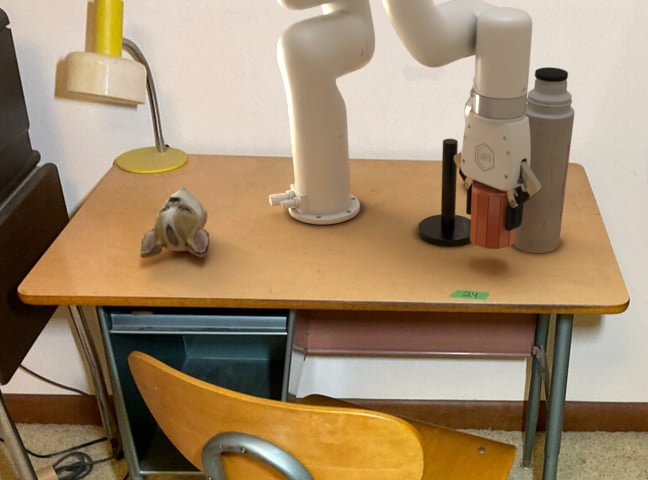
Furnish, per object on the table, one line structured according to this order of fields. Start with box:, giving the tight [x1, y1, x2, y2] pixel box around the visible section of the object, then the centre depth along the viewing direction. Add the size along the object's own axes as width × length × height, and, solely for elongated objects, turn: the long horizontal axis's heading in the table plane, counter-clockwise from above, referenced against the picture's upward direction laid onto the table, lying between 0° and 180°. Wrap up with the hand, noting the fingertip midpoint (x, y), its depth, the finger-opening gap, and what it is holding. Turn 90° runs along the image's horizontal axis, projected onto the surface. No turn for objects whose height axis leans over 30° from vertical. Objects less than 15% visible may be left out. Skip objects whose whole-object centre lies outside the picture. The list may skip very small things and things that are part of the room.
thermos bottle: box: [512, 66, 575, 254], centre depth 134 cm, size 8×8×28 cm
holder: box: [418, 138, 472, 248], centre depth 139 cm, size 10×10×16 cm
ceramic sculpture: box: [139, 186, 211, 259], centre depth 136 cm, size 11×9×15 cm
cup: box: [470, 180, 518, 250], centre depth 130 cm, size 7×7×9 cm
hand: (493, 219), depth 131 cm, fingers closed on cup, 7 cm apart
